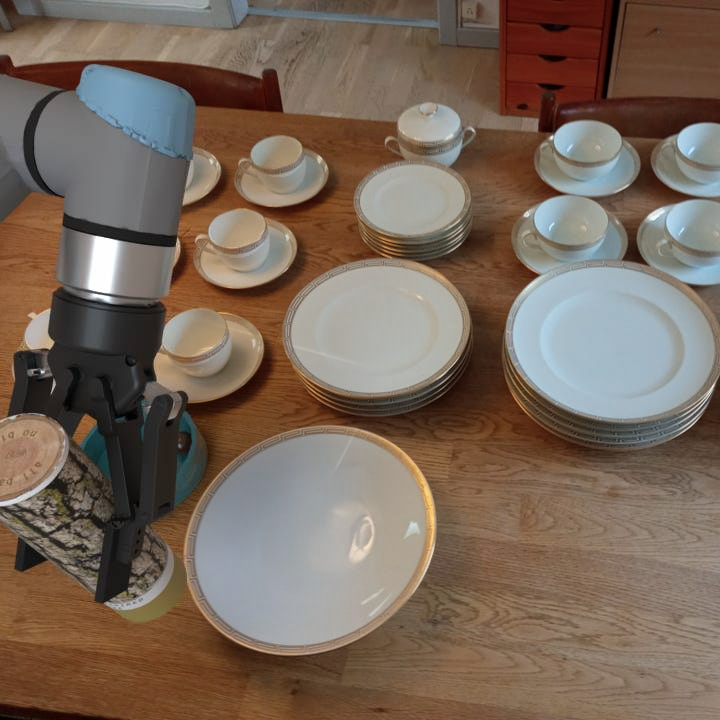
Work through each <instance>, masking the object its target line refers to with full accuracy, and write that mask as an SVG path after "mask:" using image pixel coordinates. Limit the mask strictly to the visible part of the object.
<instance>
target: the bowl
mask: <svg viewBox="0 0 720 720" xmlns="http://www.w3.org/2000/svg"><path fill="white" fill-rule="evenodd" d="M141 402H142V409H143V408H144V407H145V406H147V400H142V401H141ZM143 416H144V425H145V420H146V417H147V414H145V413H144V411H143ZM124 418H125V416H124V417H121V418H118V419H115V420H116V422H117V421H120V420H123V419H124ZM144 425H143V427H142V428H141V434H142V440H143V434H144ZM180 431H186V432H189V433H191V436H192V444H191V447H190V450H189V454H186V455H178V458H177V473H176V489H175V504H174V508H175V507H177V506H178V505H180V504H182V503H183V502H184V501H185V500H186V499H187V498H188V497H189V496H190V495H192V493H193V492H194V491H195V490H196V488H197V487H198V485H199V484H200V482H201V480H202V479H203V477H204V475H205V472H206V469H207V465H208V459H209V452H208V451H209V450H208V446H207V442H206V440H205V437H204V436H203V435H202V433H201V431H200V429H199V427H198V426H197V424H196V423H195V421H194V419H193V418H192V416H191V415H190V413H188V412H187V411H186V410H185V411H184V413H183V415H182V418H181V420H180V428H179V432H180ZM79 446H80V447H81V448H82V450H83V451H84V452H85V453H86V454H87V455H88V456H89V457H90V458H91V460H92V461H93V462H94V463H95V464H96V465H97V466H98V467H99V468H100V470H101V471H102V472H103V473H104V474H105V475H106V476H107V477H108V479H109V480H110V481H111V477H110V470H109V464H108V457H107V451H106V445H105V439H104V437H103V436H102V435H100V434H99V432H98V428H97V423H95V424H94V425H93V426H92V428H91V429H90V430H89V431H88V433H87V434H86V435H85V437H84V438H83V439H82V440H81V443H80V444H79ZM134 505H135V504H134Z"/></svg>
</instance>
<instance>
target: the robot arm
mask: <svg viewBox="0 0 720 720" xmlns="http://www.w3.org/2000/svg"><path fill="white" fill-rule="evenodd" d="M196 115H197V105H196V102H195V100H194V98H193V96H192V95H191V94H190V92H188V91H187V90H186V89H185V88H182V87H180V86H178V85H176V84H174V83H171V82H169V81H165V80H162V79H159V78H157V77H153V76H150V75H146V74H143V73H139V72H136V71H132V70H129V69H124V68H120V67H116V66H111V65H106V64H103V65H102V64H98V63H91V64H88V65H87V66H85V67H84V68H83V70H82V72H81V75H80V80H79V84H77V87H75V90H73V89H72V90H68V89H64V88H59V87H57V86H56V87H55V86H51V85H47V84H42V83H38V82H34V81H30V80H25V79H22V78H18V77H13V76H9V75H8V74H6V73H2V72H0V225H1V224H2V223H3V222H5V220H6V219H7V218H8V217H9V216H10V215H11V214H12V213H13V212H14V211H15V210H16V209H17V208H18V207H19V206H20V205H21V204H22V203H23V202H24V201H25V199H27V198H28V197H29V196H30V194H33V193H37V194H42V195H47V196H53V197H57V198H62V199H64V200H63V209H62V211H63V212H62V220H61V221H62V222H61V223H62V224H61V231H60V237H59V243H58V244H59V245H58V250H57V258H56V263H55V264H56V265H55V269H54V279H55V280H56V281H57V282H58V283H59V284H61V285H62V286H59V287H58V288H56V290H54V291H53V292H52V295H51V304H50V311H49V317H48V318H49V319H48V326H47V335H48V337H49V338H50V340H51V341H52V342H53V344H52V346H51V347H50V348H47V347H43V348H33V349H26V350H18V351H16V352H15V353H14V354H13V358H12V359H13V372H14V384H13V388H12V394H11V397H10V402H9V406H8V411H7V415H6V418H8V417H11V416H15V415H19V414H27V413H35V414H42V415H46V416H48V417H51V418H52V419H54V420H55V421H56V422H58V423H59V424H60V425H61V426H62V427H63V428H64V429H65V431H66V432H67V433H68V434H69V435H70V436H71V437H72V438H74V435H75V433H76V431H77V429H78V428H79V425H80V423H81V422H82V420H83V418H84V417H85V415H87V416H89V417H90V418H92V419H93V420H95V421H96V424H97V428H98V432H99V434H100V435H102V436H103V437H104V439H105V445H106V451H107V457H108V464H109V470H110V477H111V483H112V489H113V496H114V502H115V509H116V515H117V517H116V518H113V519H111V520H109V521H107V522H106V528H105V533H104V539H103V546H102V553H101V559H100V566H99V573H98V579H97V586H96V592H95V596H94V599H93V601H94V602H96V603H99V604H101V605H103V604H104V603H105V602H107V601H109V600H110V599H112V598H114V597H116V596H117V595H119V594H121V593H122V592H124V591H126V590H128V586H129V579H130V573H131V567H132V561H133V560H134V559H136V558H138V557H139V556H140V554H141V553H142V549H143V543H144V541H143V540H144V537H145V530H146V525H149V524H150V525H151V524H154V523H155V522H158V521H161V520H162V519H165V518H166V517H168V516H170V515H172V514H173V513H174V511H175V507H174V504H175V489H176V473H177V458H178V443H179V428H180V420H181V418H182V415H183V413H184V411H186V408H187V405H188V403H189V399H190V398H189V395H188V393H187V392H186V391H184V390H176V391H172V390H170V389H169V388H167V387H165V386H164V385H162V384H161V383H159V382H158V380H157V374H156V369H155V360H156V359H155V358H156V356H157V354H158V352H159V351H160V349H161V348H162V343H163V337H164V331H165V324H166V318H167V311H168V308H167V307H165V304H164V303H163V302H162V301H161V300H163V299H165V298H166V297H168V296H169V295H170V291H171V283H172V276H173V271H174V264H175V257H176V251H177V243H178V237H179V236H178V235H179V234H178V233H179V226H180V222H181V215H182V210H183V204H184V198H185V194H186V193H185V192H186V188H187V181H188V176H189V171H190V166H191V162H192V161H193V160H194V150H193V147H194V135H195V124H196ZM54 382H55V386H54ZM53 386H54V387H53ZM144 400H145V401H147V406H145V407H144V408H143V409H142V402H141V401H144ZM143 411H144V413H145V414H147V417H146V420H145V425H144V416H143ZM124 416H125V418H124V419H123V420H120V421H117V422H116V420H115V419H118V418H121V417H124ZM143 425H144V434H143V440H142V434H141V428H142V427H143ZM134 504H135V505H134ZM17 537H18V536H17ZM47 561H49V560H48V559H47V558H45V557H44V556H43V555H41V554H40V553H39V552H38V551H36V550H35V549H34V548H33V547H31V546H30V545H29V544H27V543H26V542H25V541H24V540H22V539H21V538H20V537H18V538H17V544H16V552H15V560H14V567H13V569H14V570H15V571H18V572H20V573H23V572H25V571H28V570H30V569H32V568H34V567H36V566H39V565H40V564H44V563H46V562H47ZM104 605H105V604H104Z"/></svg>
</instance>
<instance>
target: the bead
mask: <svg viewBox="0 0 720 720" xmlns="http://www.w3.org/2000/svg"><path fill="white" fill-rule="evenodd" d="M191 444H192V436H191V433H189V432H186V431H180V432H179V443H178V455H186V454H189V450H190V447H191Z"/></svg>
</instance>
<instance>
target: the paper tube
mask: <svg viewBox="0 0 720 720" xmlns="http://www.w3.org/2000/svg"><path fill="white" fill-rule="evenodd" d="M116 517H117V515H116V509H115V502H114V496H113V489H112V483H111V481H110V480H109V479H108V477H107V476H106V475H105V474H104V473H103V472H102V471H101V470H100V468H99V467H98V466H97V465H96V464H95V463H94V462H93V461H92V460H91V458H90V457H89V456H88V455H87V454H86V453H85V452H84V451H83V450H82V448H81V447H80V444H78V443H77V442H76V441H75V440H74V437H71V436H70V435H69V434H68V433H67V432H66V431H65V429H64V428H63V427H62V426H61V425H60V424H59V423H58V422H56V421H55V420H54V419H52V418H51V417H48V416H46V415H42V414H35V413H27V414H19V415H15V416H11V417H8V418H7V417H6V418H3V419H1V420H0V523H1V524H2V525H3V526H4V527H6V528H7V529H8V530H9V531H10V532H12V533H13V534H14V535H16V536H17V537H20V538H21V539H22V540H24V541H25V542H26V543H27V544H29V545H30V546H31V547H33V548H34V549H35V550H36V551H38V552H39V553H40V554H41V555H43V556H44V557H45V558H47V559H48V560H47V561H49V562H50V563H51V564H53V565H54V566H55V567H57V568H58V569H59V570H60V571H62V572H63V573H64V574H66V575H67V576H68V577H69V578H71V579H72V580H73V581H74V582H76V583H77V584H79V585H80V586H81V588H83V589H84V590H86V591H88V592H89V593H90V594H91V595H92V596H94V597H95V592H96V586H97V579H98V573H99V566H100V559H101V553H102V546H103V539H104V533H105V528H106V522H107V521H109V520H111V519H113V518H116ZM143 541H144V543H143V549H142V553H141V554H140V556H139V557H138V558H136V559H134V560H133V561H132V567H131V573H130V579H129V586H128V590H126V591H124V592H122V593H121V594H119V595H117V596H116V597H114V598H112V599H110V600H109V601H107V602H105V603H104V605H106V606H107V607H108V608H110V609H111V610H113V612H115V614H117V615H119V616H120V617H121V618H123V619H124V620H127V621H129V622H133V623H147V622H151V621H155V620H157V619H160V618H161V617H163V616H165V615H166V614H167V613H169V612H170V611H171V610H172V609H174V608H175V606H176V605H177V604H178V603H179V601H180V600H181V599H182V597H183V594H184V592H185V590H186V587H187V582H188V573H187V568H186V566H185V564H184V561H182V559H181V558H180V557H179V555H177V553H175V551H174V550H173V549H172V548H171V547H170V545H169V544H168V543H167V542H166V541H165V539H163V538H162V536H161V535H160V534H159V533H158V532H157V531H156V530H155V528H154V527H152V525H151V524H149V525H146V530H145V537H144V540H143Z"/></svg>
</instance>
